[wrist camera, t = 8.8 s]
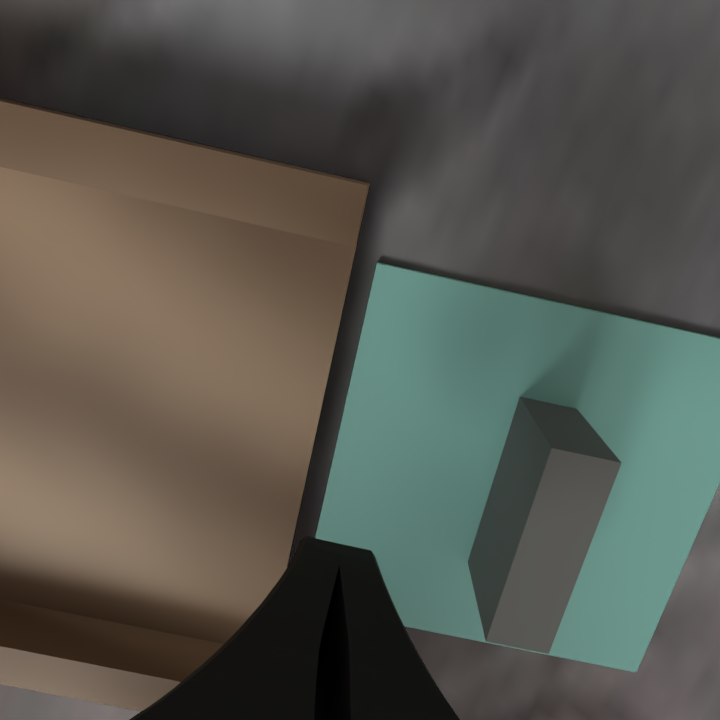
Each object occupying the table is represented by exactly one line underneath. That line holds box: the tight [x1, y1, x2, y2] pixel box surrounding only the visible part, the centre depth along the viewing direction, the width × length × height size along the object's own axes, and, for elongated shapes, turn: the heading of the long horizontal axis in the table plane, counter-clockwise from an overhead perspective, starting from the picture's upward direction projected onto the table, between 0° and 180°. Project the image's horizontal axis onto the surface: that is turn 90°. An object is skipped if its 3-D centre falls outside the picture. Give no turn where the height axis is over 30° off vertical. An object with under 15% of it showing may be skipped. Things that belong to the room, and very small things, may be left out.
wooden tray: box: [0, 98, 370, 712], centre depth 15 cm, size 14×14×2 cm
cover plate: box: [315, 262, 720, 672], centre depth 15 cm, size 10×10×4 cm
